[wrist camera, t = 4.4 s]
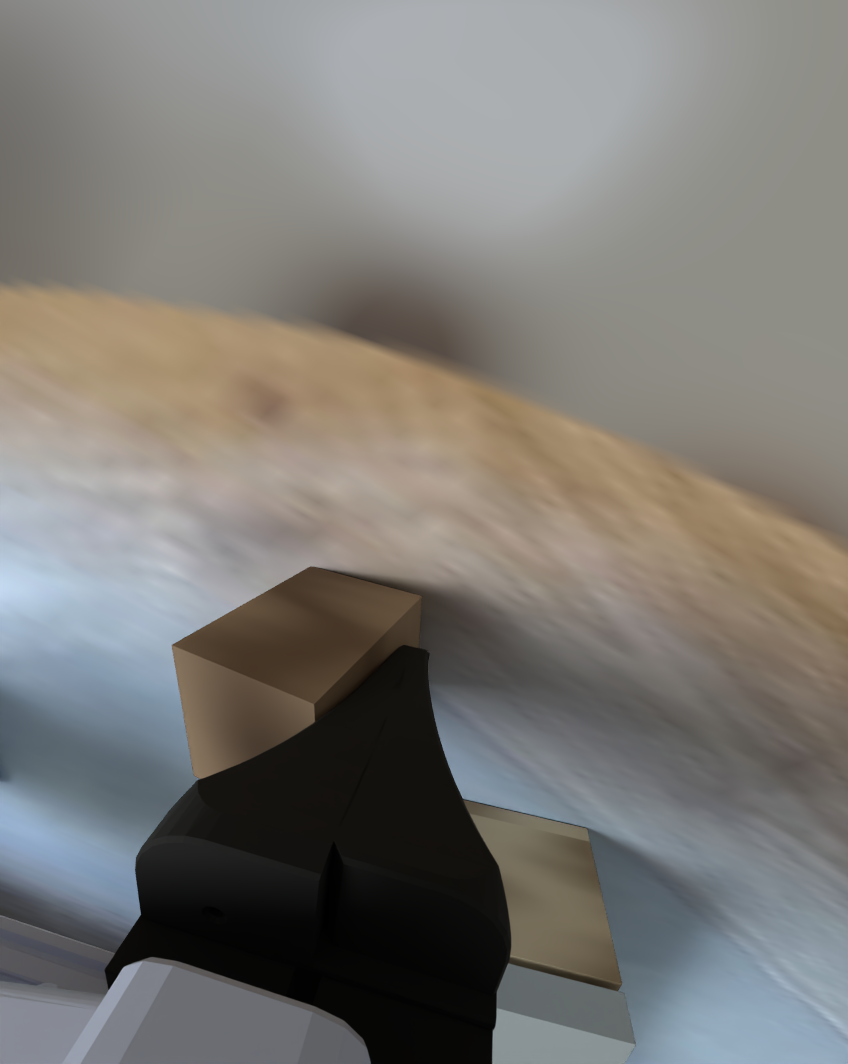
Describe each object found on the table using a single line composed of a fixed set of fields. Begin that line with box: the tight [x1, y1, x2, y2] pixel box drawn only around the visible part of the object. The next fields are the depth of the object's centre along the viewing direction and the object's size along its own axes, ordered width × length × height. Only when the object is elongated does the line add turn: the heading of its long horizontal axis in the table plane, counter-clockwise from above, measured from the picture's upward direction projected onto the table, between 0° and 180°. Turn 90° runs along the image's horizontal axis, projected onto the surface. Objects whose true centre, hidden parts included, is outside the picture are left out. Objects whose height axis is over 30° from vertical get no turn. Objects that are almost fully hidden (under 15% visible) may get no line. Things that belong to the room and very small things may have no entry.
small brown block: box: [172, 567, 422, 779], centre depth 12 cm, size 4×4×5 cm
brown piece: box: [463, 800, 622, 991], centre depth 17 cm, size 12×14×4 cm
